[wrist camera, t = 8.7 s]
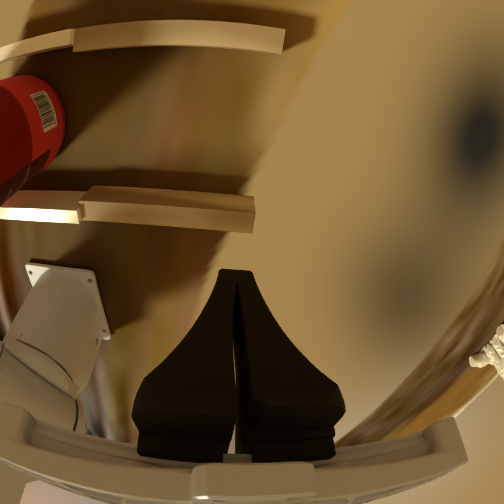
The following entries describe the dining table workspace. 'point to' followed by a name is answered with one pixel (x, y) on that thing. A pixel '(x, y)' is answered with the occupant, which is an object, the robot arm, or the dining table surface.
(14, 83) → the canned food
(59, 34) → the open frame
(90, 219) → the rail channel
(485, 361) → the white creature statuette
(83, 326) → the robot arm
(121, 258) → the dining table surface
